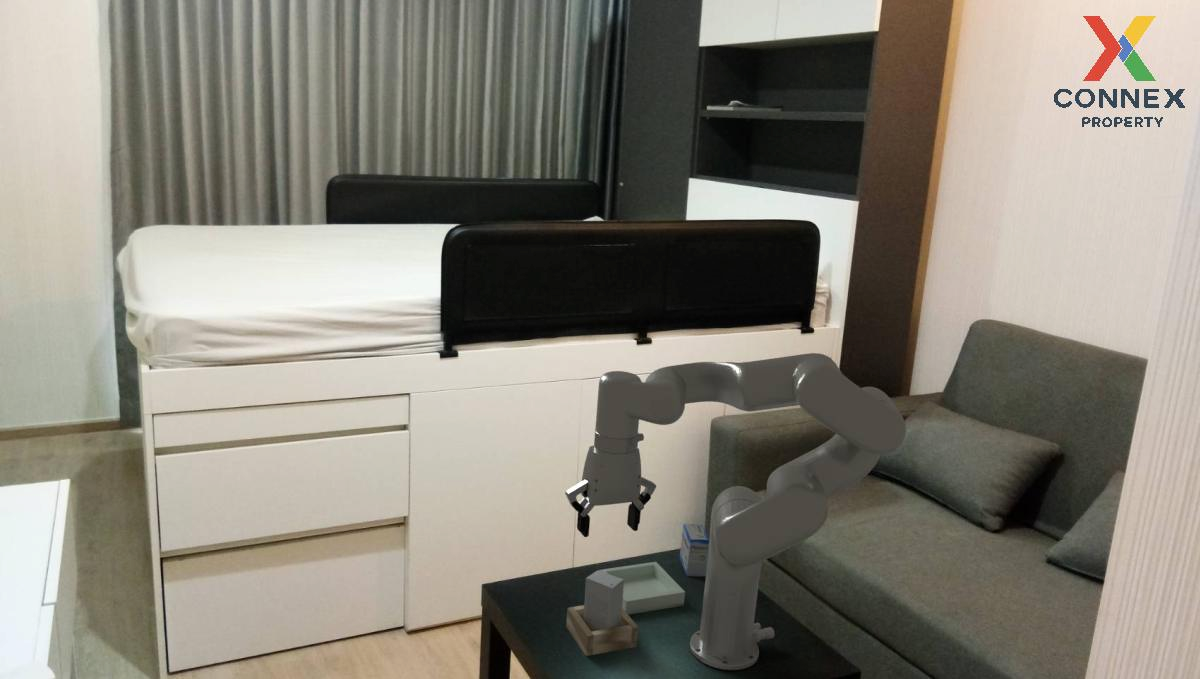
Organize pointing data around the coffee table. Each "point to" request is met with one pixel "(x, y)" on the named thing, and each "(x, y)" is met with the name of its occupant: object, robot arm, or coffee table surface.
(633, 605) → the tray
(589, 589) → the skincare box
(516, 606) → the coffee table surface
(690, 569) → the medicine box
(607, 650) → the collar
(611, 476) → the robot arm
